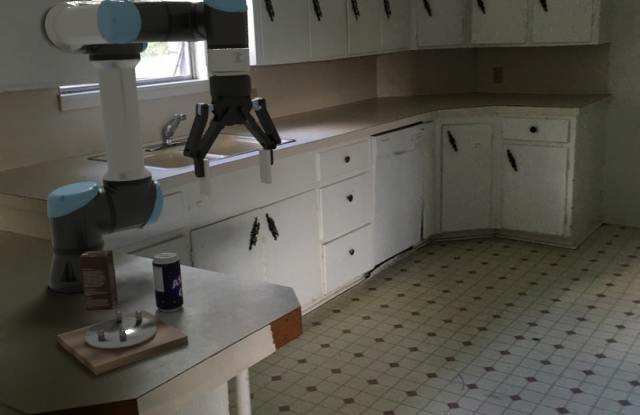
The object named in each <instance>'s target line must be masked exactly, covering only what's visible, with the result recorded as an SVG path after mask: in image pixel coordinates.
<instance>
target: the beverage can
mask: <svg viewBox="0 0 640 415" xmlns="http://www.w3.org/2000/svg"><path fill="white" fill-rule="evenodd" d="M151 263H152V275H153V276H152V277H153V285H154V295H155V305H156V308H157V309H159V310H160V311H161V312H163V313H173V312H176V311H178V309H179V310H180V309H181V307H182V306H183V305H184V293H183V292H184V291H183V282H182V280H183V279H182V272H181V270H182V269H181V259H180V257H179V256H178V252H177V251H170V250H168V251H160V252H157V253H155V254H154V255H153V260H152V261H151Z"/></svg>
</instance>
